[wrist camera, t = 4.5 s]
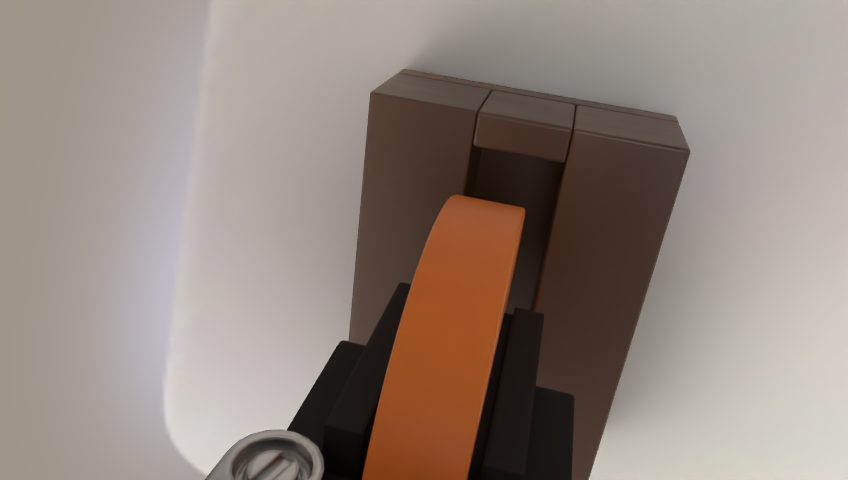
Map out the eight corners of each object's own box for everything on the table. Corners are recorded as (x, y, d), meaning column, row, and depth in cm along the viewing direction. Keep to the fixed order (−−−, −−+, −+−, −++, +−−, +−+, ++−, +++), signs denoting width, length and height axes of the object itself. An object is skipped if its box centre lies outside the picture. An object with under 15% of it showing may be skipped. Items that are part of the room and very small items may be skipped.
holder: (368, 387, 19) (338, 447, 17) (402, 68, 15) (369, 91, 13) (581, 440, 18) (579, 511, 16) (676, 116, 14) (691, 149, 12)
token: (431, 421, 16) (329, 735, 10) (476, 141, 13) (368, 341, 7) (480, 434, 16) (408, 761, 10) (538, 152, 13) (488, 370, 6)
